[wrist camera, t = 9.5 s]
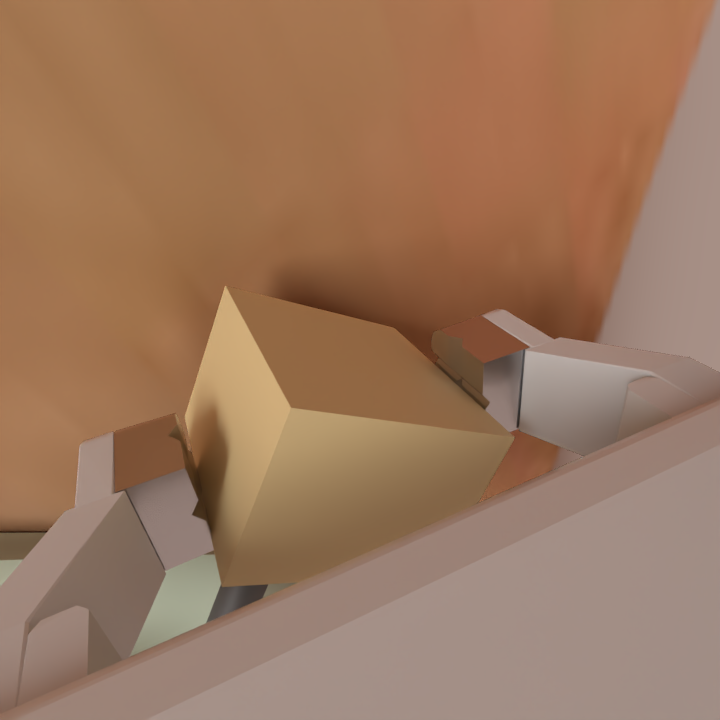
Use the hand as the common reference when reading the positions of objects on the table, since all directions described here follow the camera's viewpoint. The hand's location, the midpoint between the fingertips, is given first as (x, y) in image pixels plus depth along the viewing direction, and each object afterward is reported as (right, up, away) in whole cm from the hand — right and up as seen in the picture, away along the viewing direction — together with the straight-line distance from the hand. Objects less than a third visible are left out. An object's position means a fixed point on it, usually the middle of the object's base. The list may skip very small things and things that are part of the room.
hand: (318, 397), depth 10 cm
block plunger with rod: (-4, -7, +4) cm, 9 cm away
